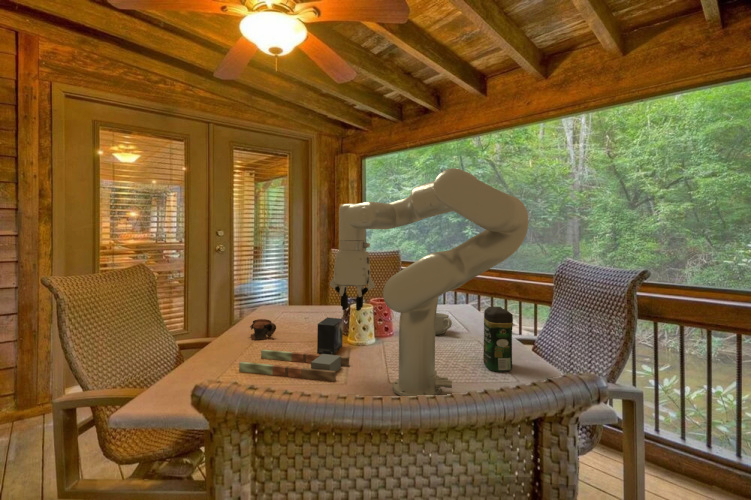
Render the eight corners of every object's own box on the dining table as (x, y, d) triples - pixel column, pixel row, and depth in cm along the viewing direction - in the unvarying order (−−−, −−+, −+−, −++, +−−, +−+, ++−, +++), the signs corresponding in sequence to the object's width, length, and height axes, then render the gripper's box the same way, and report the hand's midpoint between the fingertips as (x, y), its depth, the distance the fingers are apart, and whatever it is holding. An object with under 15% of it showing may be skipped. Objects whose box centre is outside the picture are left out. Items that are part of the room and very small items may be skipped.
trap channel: (349, 365, 118) (349, 357, 118) (334, 381, 105) (334, 372, 105) (263, 356, 125) (262, 349, 125) (239, 371, 112) (239, 363, 112)
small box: (334, 355, 127) (334, 324, 127) (316, 354, 129) (316, 323, 128) (343, 346, 138) (343, 317, 137) (326, 345, 139) (326, 317, 138)
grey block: (340, 368, 116) (340, 355, 115) (329, 378, 108) (329, 364, 108) (323, 366, 117) (323, 353, 117) (310, 375, 110) (310, 362, 110)
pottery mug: (243, 341, 145) (245, 320, 149) (259, 345, 153) (261, 326, 157) (268, 336, 141) (270, 315, 145) (283, 341, 149) (285, 321, 153)
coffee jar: (480, 361, 122) (481, 304, 121) (505, 362, 121) (506, 305, 121) (488, 372, 112) (489, 311, 111) (515, 373, 112) (516, 311, 111)
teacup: (417, 331, 159) (417, 312, 158) (438, 328, 163) (439, 310, 163) (435, 340, 146) (436, 319, 146) (458, 336, 151) (459, 317, 150)
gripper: (382, 246, 111) (382, 308, 112) (329, 245, 115) (329, 305, 116) (376, 247, 103) (376, 313, 104) (320, 246, 107) (320, 310, 108)
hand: (351, 308), depth 110 cm, fingers open, 3 cm apart
